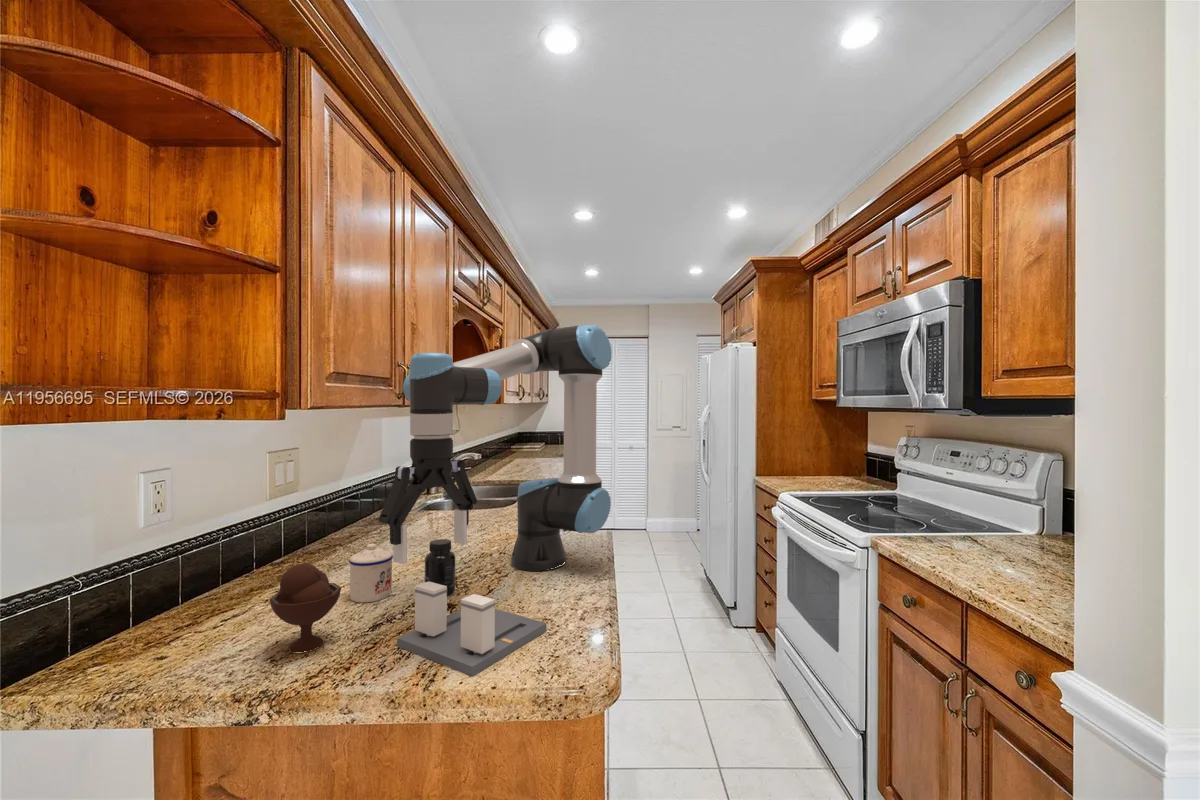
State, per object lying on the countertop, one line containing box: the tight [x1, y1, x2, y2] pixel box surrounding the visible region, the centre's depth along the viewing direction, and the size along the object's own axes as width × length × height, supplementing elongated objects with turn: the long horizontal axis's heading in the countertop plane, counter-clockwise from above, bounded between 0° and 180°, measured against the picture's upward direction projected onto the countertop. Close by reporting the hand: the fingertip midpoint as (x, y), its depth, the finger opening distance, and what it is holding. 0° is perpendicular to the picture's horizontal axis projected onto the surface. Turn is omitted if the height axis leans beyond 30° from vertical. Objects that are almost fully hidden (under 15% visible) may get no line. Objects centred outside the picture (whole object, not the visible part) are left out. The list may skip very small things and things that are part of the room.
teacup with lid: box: [348, 543, 393, 603], centre depth 115 cm, size 12×9×12 cm
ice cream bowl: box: [269, 562, 342, 652], centre depth 89 cm, size 11×11×15 cm
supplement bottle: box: [423, 538, 456, 598], centre depth 115 cm, size 7×7×12 cm
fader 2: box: [460, 593, 496, 654], centre depth 85 cm, size 3×5×9 cm, turn 58°
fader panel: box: [396, 608, 547, 677], centre depth 92 cm, size 19×19×2 cm
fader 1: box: [414, 581, 448, 636], centre depth 91 cm, size 3×5×9 cm, turn 58°
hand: (432, 552), depth 91 cm, fingers open, 13 cm apart
